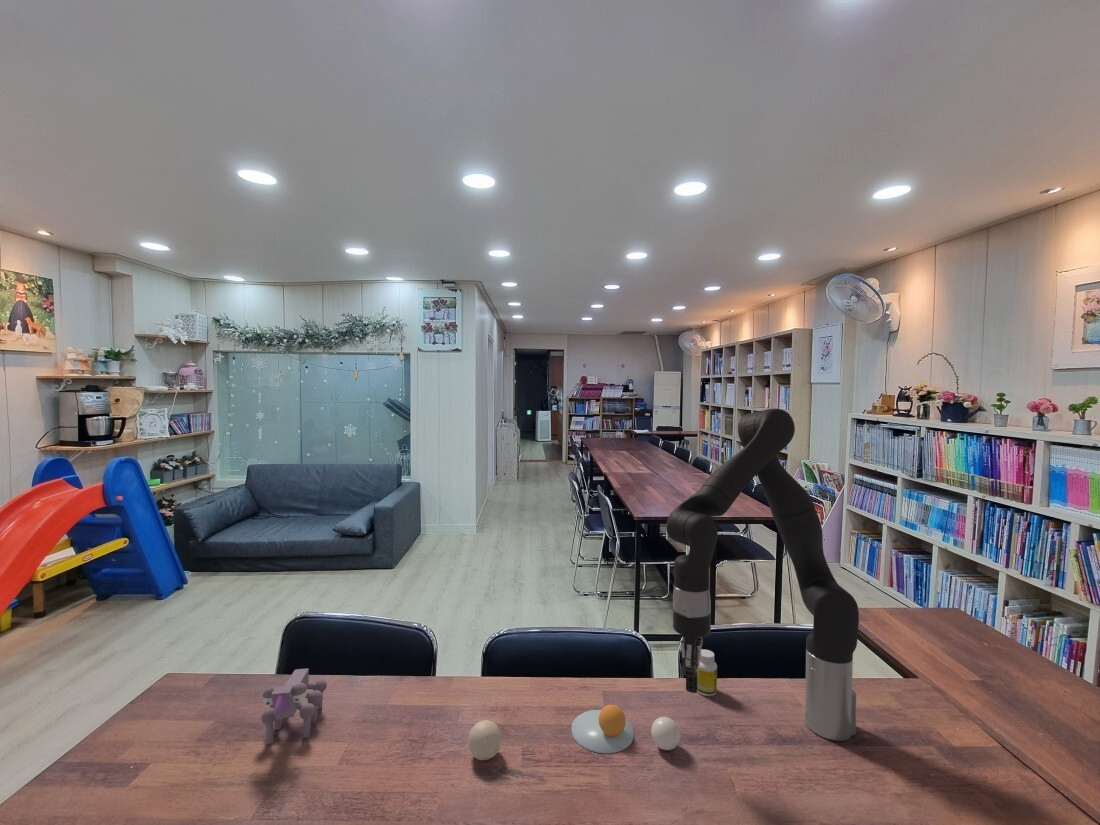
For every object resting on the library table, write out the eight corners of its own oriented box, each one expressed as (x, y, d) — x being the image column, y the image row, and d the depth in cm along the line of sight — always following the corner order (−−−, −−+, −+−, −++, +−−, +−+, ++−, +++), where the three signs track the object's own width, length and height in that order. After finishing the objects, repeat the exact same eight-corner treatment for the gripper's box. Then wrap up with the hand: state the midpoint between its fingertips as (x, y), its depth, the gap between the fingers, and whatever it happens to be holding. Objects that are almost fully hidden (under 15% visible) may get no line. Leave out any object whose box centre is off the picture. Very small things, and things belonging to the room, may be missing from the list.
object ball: (627, 703, 108) (604, 705, 110) (617, 703, 103) (592, 705, 106) (631, 735, 104) (607, 736, 107) (620, 736, 100) (595, 737, 102)
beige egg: (475, 774, 93) (475, 741, 93) (464, 750, 99) (464, 719, 99) (506, 762, 96) (507, 730, 96) (494, 740, 103) (494, 710, 103)
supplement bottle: (718, 698, 118) (718, 659, 118) (695, 695, 119) (696, 657, 119) (715, 685, 124) (715, 649, 123) (693, 683, 125) (694, 646, 124)
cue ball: (676, 712, 104) (657, 727, 106) (660, 709, 101) (641, 724, 103) (690, 742, 99) (670, 757, 101) (674, 739, 96) (653, 755, 98)
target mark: (624, 709, 114) (624, 708, 114) (641, 751, 100) (641, 750, 100) (567, 712, 112) (567, 711, 112) (576, 755, 98) (576, 754, 98)
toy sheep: (303, 766, 95) (299, 699, 94) (244, 776, 93) (241, 708, 92) (330, 704, 114) (327, 649, 114) (282, 711, 112) (279, 655, 112)
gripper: (677, 593, 105) (678, 670, 105) (667, 617, 93) (668, 704, 93) (713, 598, 102) (713, 677, 102) (707, 624, 90) (707, 714, 90)
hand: (691, 690), depth 98 cm, fingers closed
